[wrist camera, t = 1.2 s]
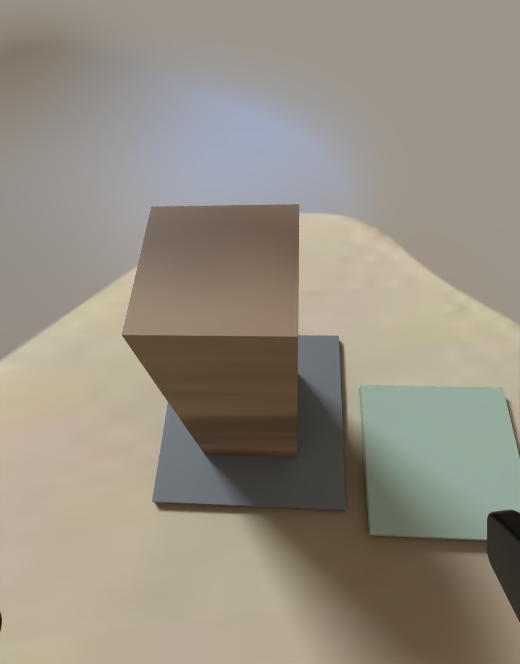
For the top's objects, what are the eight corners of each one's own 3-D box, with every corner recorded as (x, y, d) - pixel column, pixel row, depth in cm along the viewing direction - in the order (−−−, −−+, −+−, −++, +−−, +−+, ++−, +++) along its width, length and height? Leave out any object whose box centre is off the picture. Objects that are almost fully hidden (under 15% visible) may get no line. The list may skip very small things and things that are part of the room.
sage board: (532, 542, 19) (539, 541, 19) (369, 535, 20) (371, 533, 19) (498, 392, 23) (502, 387, 22) (359, 389, 23) (360, 385, 23)
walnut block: (296, 457, 21) (298, 336, 11) (204, 454, 22) (121, 335, 11) (297, 372, 24) (299, 204, 13) (213, 371, 24) (151, 206, 14)
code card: (345, 510, 20) (346, 509, 20) (154, 502, 21) (151, 501, 21) (338, 339, 25) (338, 335, 25) (180, 337, 26) (178, 334, 25)
